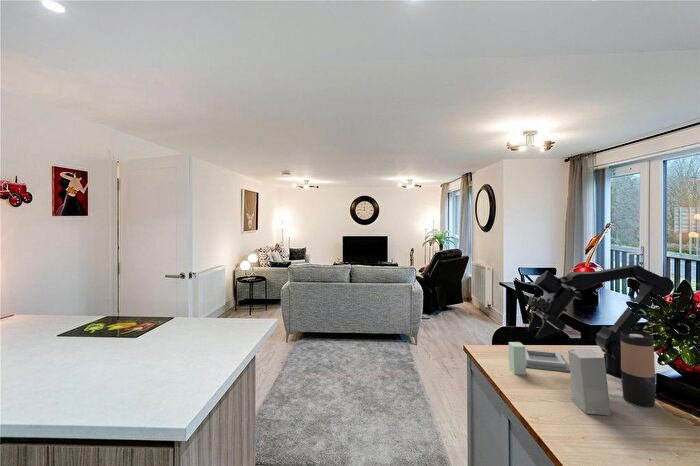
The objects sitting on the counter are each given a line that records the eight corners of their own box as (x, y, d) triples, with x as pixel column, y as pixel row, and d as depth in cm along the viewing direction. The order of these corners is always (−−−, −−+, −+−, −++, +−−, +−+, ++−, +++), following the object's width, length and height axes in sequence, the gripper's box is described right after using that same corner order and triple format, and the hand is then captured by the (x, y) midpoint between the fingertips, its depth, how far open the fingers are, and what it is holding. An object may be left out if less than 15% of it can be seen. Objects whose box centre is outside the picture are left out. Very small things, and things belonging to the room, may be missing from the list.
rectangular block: (520, 368, 124) (519, 342, 124) (526, 374, 119) (525, 346, 119) (509, 368, 125) (508, 342, 125) (514, 374, 120) (513, 346, 120)
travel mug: (647, 396, 101) (645, 331, 101) (661, 409, 94) (659, 338, 94) (617, 393, 104) (615, 329, 104) (628, 405, 97) (626, 336, 97)
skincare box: (611, 416, 91) (609, 359, 91) (582, 414, 93) (580, 357, 93) (595, 401, 99) (593, 348, 100) (568, 399, 101) (567, 347, 101)
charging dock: (562, 356, 135) (561, 351, 135) (572, 372, 120) (571, 366, 120) (518, 352, 141) (518, 347, 141) (522, 367, 126) (522, 360, 126)
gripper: (531, 284, 132) (507, 314, 134) (549, 292, 114) (520, 327, 116) (557, 301, 131) (531, 332, 133) (578, 312, 112) (549, 348, 114)
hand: (532, 334), depth 124 cm, fingers open, 9 cm apart
